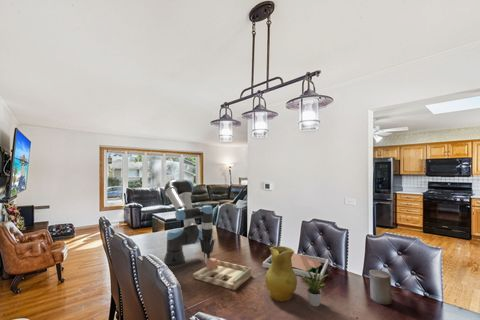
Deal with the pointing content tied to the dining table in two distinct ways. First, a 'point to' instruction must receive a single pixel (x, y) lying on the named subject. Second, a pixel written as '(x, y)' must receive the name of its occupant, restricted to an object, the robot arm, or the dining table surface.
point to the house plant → (314, 288)
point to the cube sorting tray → (224, 274)
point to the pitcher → (281, 274)
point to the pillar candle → (380, 286)
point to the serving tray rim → (299, 272)
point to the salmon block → (211, 263)
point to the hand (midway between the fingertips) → (207, 262)
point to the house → (304, 262)
